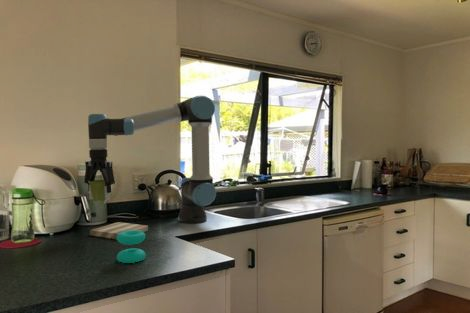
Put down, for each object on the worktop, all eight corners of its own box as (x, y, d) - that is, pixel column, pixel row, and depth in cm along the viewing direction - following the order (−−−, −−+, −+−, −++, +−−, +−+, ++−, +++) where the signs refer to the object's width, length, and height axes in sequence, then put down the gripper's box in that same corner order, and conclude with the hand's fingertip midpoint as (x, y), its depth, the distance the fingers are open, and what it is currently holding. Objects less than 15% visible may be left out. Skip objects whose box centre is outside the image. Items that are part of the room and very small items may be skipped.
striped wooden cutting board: (148, 232, 180) (147, 225, 180) (121, 241, 164) (121, 234, 164) (118, 228, 188) (118, 222, 188) (90, 236, 172) (90, 230, 171)
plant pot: (97, 202, 164) (96, 182, 163) (84, 200, 170) (83, 181, 169) (115, 199, 171) (114, 180, 171) (103, 197, 177) (102, 179, 176)
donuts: (129, 237, 129) (110, 233, 135) (130, 266, 130) (110, 261, 135) (151, 231, 137) (132, 228, 143) (151, 259, 138) (132, 254, 143)
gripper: (122, 148, 168) (124, 199, 169) (86, 148, 177) (88, 197, 178) (110, 149, 161) (112, 202, 163) (74, 149, 170) (76, 199, 171)
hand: (100, 199), depth 170 cm, fingers closed on plant pot, 8 cm apart
